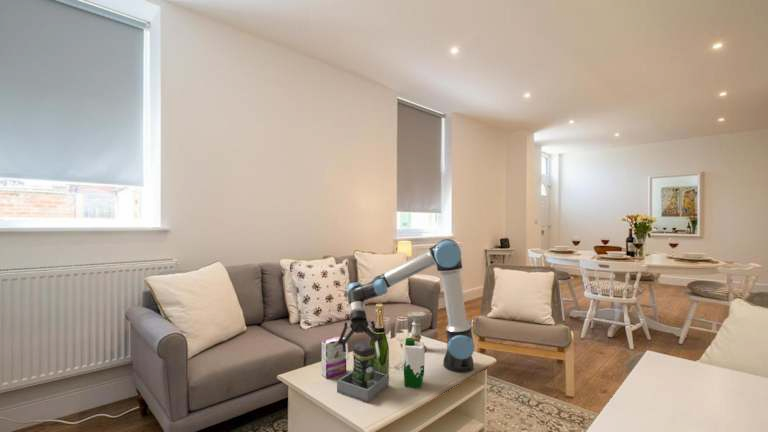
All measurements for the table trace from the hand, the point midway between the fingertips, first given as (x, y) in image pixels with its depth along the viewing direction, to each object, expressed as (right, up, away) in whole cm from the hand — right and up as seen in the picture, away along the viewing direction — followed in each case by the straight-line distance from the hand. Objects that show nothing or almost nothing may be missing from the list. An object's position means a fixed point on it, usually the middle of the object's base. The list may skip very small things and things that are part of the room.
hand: (363, 357), depth 159 cm
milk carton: (+22, -14, +6) cm, 27 cm away
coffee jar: (0, -13, 0) cm, 13 cm away
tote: (0, -14, 0) cm, 14 cm away
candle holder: (+27, -14, +48) cm, 57 cm away
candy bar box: (-15, -13, +15) cm, 25 cm away
